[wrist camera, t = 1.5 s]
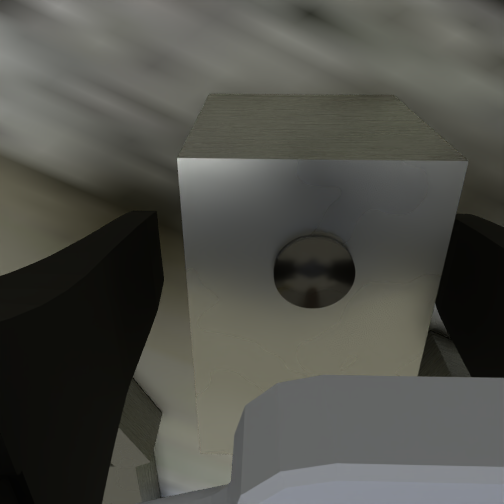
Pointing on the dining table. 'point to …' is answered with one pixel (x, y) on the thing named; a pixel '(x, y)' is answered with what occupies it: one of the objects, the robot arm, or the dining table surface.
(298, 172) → the block
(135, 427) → the socket
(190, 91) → the dining table surface
